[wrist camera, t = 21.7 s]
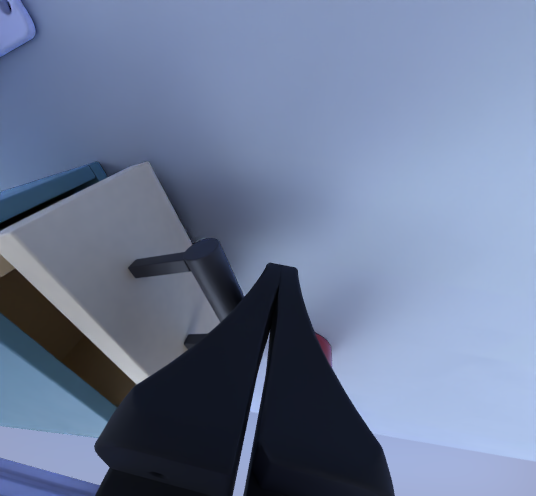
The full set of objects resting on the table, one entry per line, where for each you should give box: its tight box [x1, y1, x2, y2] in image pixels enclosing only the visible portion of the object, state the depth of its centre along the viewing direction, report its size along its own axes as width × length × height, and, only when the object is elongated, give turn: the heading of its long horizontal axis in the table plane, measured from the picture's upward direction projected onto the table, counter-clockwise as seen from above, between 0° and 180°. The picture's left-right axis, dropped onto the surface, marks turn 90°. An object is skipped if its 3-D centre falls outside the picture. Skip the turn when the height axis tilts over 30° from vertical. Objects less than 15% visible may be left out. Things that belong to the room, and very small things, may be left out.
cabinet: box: [0, 162, 117, 438], centre depth 15 cm, size 13×13×8 cm
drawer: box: [0, 162, 244, 407], centre depth 14 cm, size 16×12×7 cm
